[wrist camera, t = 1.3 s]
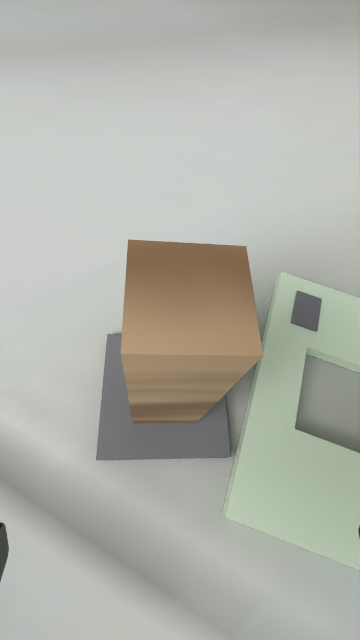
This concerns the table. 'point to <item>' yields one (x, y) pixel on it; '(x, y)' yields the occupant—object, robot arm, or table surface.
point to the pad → (152, 424)
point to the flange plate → (293, 445)
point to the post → (186, 328)
